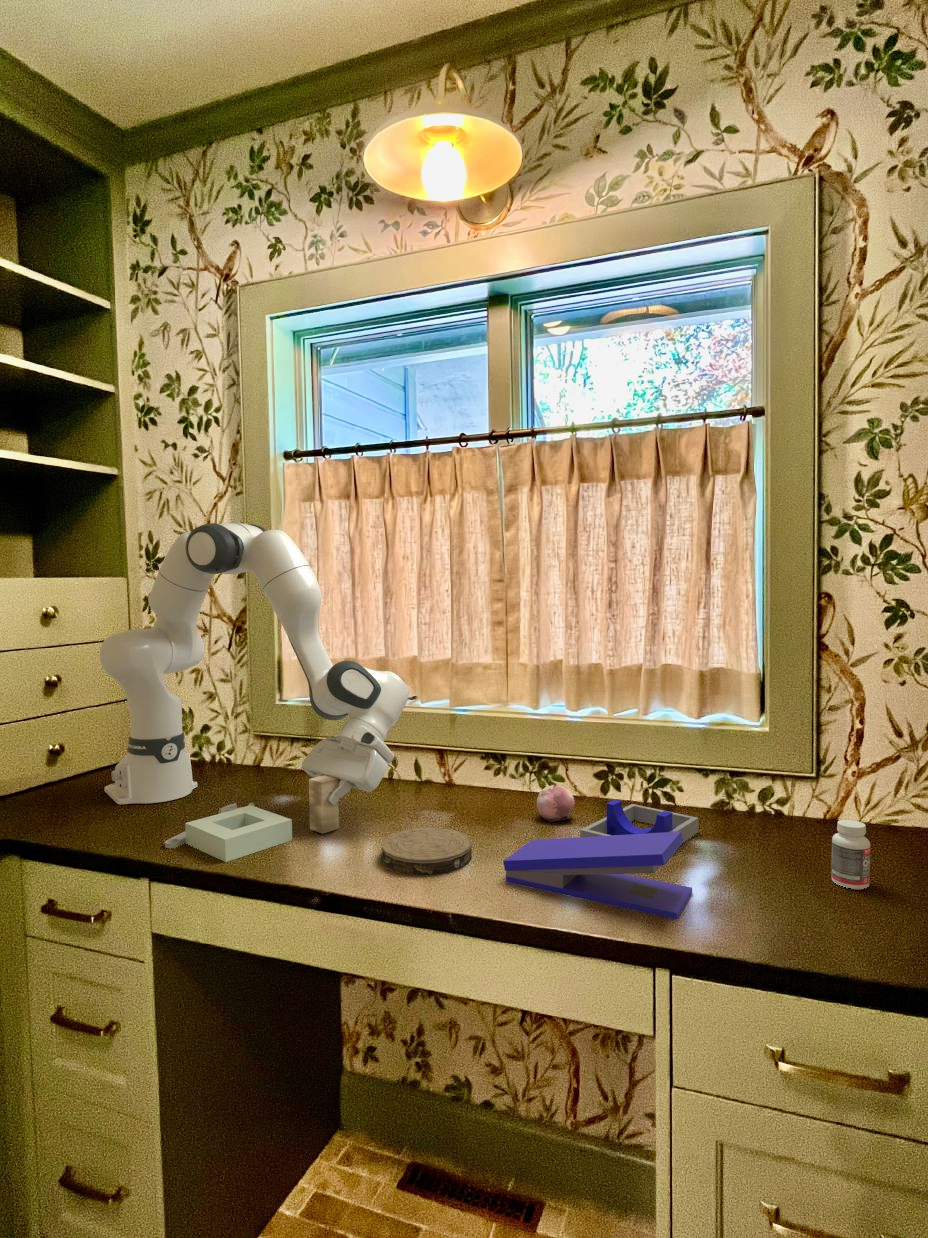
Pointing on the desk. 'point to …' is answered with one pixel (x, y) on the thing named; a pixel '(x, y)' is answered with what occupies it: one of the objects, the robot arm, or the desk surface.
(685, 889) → the stapler
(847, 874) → the pill bottle
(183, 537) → the robot arm
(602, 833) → the clip corral
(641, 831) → the blue cradle holder
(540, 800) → the onion
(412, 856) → the wood slice
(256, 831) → the pale green square frame
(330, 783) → the wooden block
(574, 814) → the desk surface
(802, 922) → the desk surface
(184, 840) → the adjustable wrench
